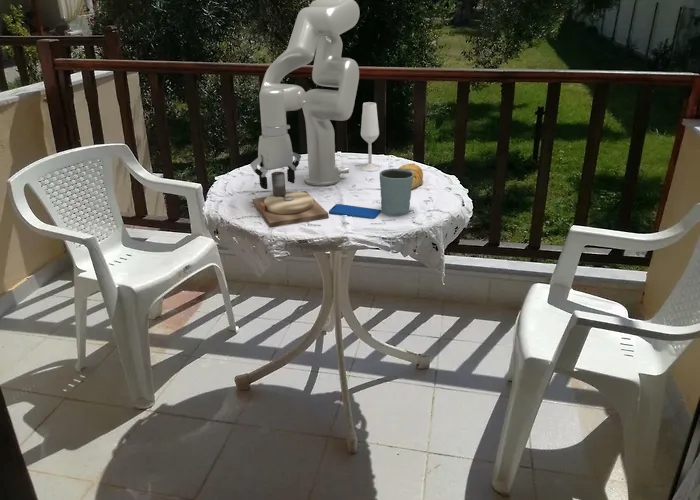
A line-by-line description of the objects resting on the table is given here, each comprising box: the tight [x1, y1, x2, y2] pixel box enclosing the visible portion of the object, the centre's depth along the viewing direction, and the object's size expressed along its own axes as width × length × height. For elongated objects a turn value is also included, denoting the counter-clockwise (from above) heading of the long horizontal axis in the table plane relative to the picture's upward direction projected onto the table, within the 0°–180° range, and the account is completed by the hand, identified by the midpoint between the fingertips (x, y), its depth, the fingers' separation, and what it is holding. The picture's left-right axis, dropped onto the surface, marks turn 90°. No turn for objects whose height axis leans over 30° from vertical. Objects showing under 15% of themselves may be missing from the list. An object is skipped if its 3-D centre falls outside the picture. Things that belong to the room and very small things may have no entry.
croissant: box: [397, 163, 424, 190], centre depth 204 cm, size 21×10×8 cm, turn 165°
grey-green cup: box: [378, 168, 414, 217], centre depth 179 cm, size 10×10×12 cm
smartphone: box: [328, 203, 382, 220], centre depth 181 cm, size 7×1×15 cm
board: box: [251, 190, 330, 228], centre depth 183 cm, size 18×22×4 cm
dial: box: [264, 171, 314, 214], centre depth 181 cm, size 15×15×9 cm
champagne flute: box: [360, 101, 380, 172], centre depth 216 cm, size 7×7×24 cm
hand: (277, 185), depth 185 cm, fingers open, 9 cm apart
